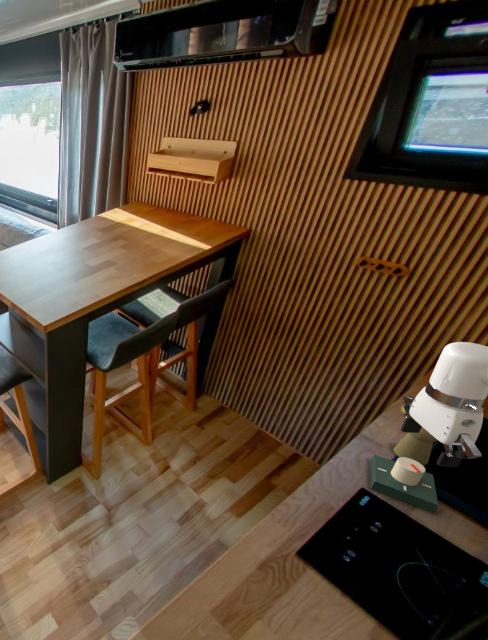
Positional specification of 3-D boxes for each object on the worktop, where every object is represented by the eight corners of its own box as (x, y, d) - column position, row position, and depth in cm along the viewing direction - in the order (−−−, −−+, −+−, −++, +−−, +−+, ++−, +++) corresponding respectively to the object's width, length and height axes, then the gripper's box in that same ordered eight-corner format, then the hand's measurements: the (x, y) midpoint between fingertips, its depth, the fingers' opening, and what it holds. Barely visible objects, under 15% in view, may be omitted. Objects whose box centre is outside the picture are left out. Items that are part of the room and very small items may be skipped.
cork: (405, 464, 97) (421, 435, 92) (387, 445, 102) (401, 417, 97) (435, 466, 95) (453, 437, 91) (415, 447, 100) (430, 419, 96)
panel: (428, 482, 92) (433, 474, 91) (433, 512, 86) (438, 504, 85) (370, 461, 99) (373, 453, 98) (371, 488, 93) (375, 480, 92)
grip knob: (385, 468, 94) (392, 455, 92) (408, 471, 93) (416, 457, 90) (399, 484, 90) (407, 470, 88) (423, 487, 89) (431, 473, 87)
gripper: (522, 425, 71) (486, 482, 77) (440, 368, 85) (416, 420, 92) (469, 423, 73) (439, 479, 80) (398, 368, 88) (378, 419, 95)
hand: (427, 447), depth 86 cm, fingers open, 9 cm apart
